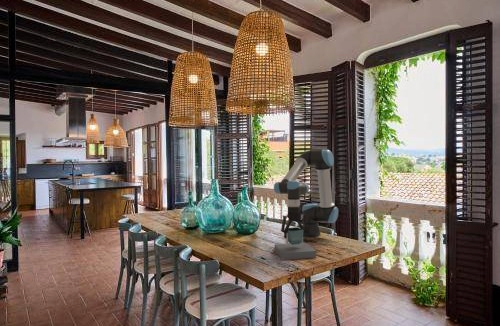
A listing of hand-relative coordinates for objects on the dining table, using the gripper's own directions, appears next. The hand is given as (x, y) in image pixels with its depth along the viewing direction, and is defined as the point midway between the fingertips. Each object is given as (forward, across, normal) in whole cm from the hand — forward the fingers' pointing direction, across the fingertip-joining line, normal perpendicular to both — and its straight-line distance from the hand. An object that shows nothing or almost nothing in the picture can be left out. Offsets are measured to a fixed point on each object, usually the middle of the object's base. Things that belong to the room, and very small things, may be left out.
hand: (294, 243), depth 206 cm
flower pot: (+1, 0, 0) cm, 1 cm away
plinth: (+7, 0, 0) cm, 7 cm away
